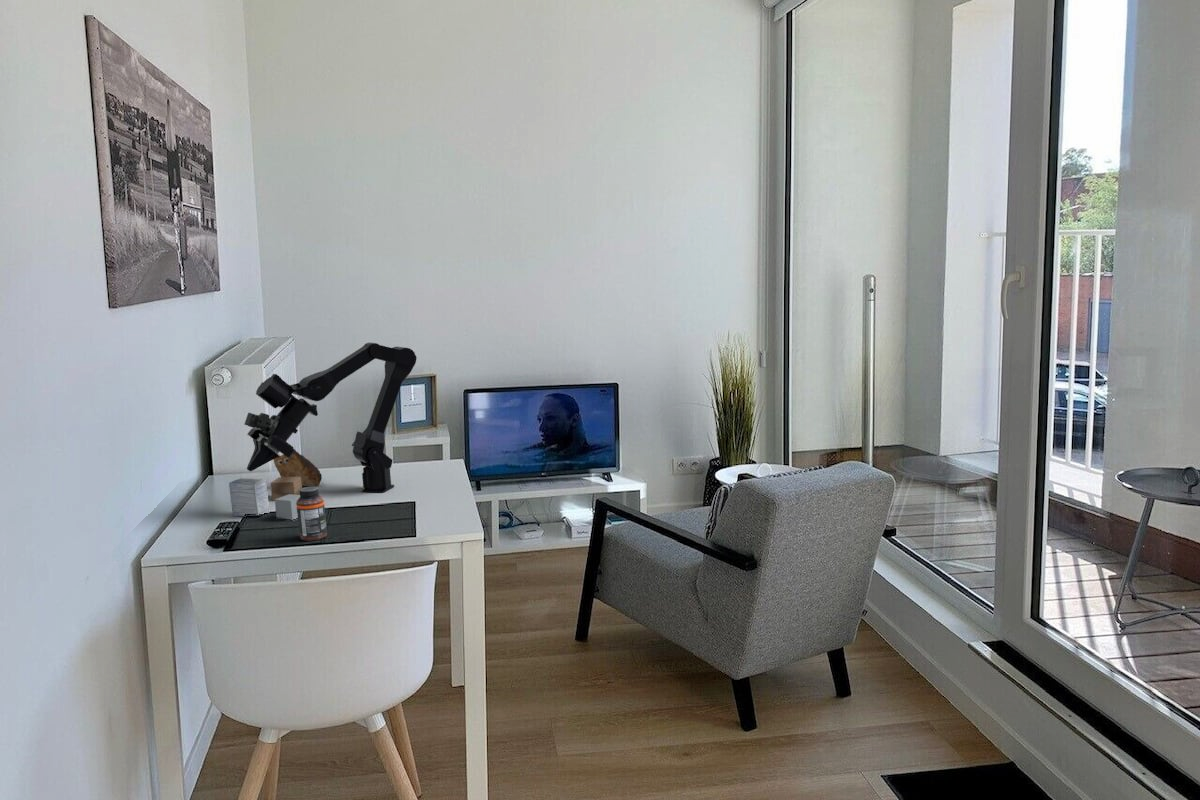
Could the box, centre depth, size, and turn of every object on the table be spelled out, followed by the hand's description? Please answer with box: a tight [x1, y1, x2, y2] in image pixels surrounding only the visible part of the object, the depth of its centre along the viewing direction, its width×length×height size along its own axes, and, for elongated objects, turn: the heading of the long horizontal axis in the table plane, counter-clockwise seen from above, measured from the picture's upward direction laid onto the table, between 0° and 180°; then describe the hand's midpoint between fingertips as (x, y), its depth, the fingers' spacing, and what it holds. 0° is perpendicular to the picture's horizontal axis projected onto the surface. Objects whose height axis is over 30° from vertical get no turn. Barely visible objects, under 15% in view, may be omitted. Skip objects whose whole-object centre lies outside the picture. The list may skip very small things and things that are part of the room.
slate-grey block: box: [274, 494, 300, 521], centre depth 237 cm, size 5×5×5 cm
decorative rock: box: [273, 448, 323, 487], centre depth 269 cm, size 12×6×11 cm, turn 96°
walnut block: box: [269, 476, 303, 502], centre depth 257 cm, size 6×6×5 cm
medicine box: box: [228, 477, 271, 517], centre depth 241 cm, size 8×4×9 cm, turn 71°
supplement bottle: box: [296, 486, 328, 542], centre depth 219 cm, size 6×6×11 cm
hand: (248, 470), depth 240 cm, fingers closed
